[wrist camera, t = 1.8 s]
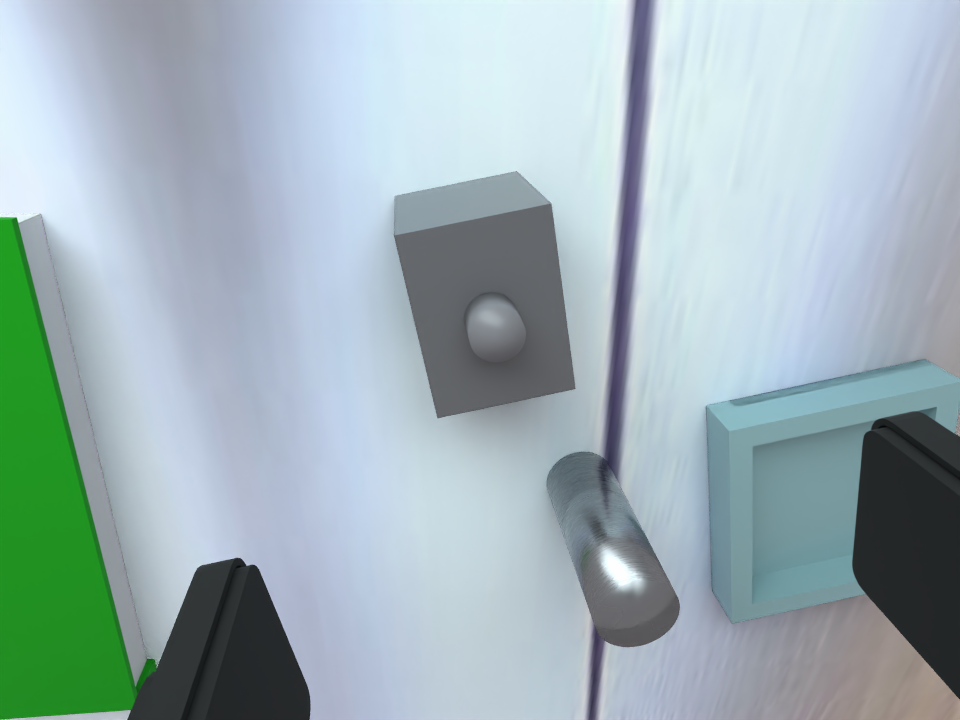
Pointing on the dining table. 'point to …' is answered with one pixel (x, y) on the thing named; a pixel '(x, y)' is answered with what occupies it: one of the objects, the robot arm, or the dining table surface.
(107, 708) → the green flat slab
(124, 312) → the dining table surface
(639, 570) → the post
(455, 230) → the block
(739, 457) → the end holder
